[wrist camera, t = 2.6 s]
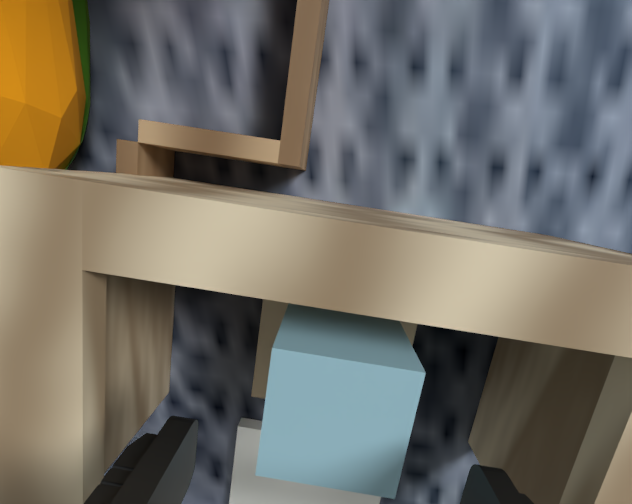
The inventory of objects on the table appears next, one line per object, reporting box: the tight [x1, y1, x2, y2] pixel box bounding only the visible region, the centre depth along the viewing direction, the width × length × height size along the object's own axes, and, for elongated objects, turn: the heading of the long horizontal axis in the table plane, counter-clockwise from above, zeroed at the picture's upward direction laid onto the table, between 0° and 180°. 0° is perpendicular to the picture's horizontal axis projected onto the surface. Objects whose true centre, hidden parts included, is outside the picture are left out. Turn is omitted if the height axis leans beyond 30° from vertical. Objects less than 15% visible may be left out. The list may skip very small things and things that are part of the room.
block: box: [255, 303, 426, 499], centre depth 14 cm, size 5×5×6 cm
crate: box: [0, 165, 632, 504], centre depth 15 cm, size 22×14×10 cm, turn 81°
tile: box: [229, 417, 381, 504], centre depth 22 cm, size 10×10×1 cm
